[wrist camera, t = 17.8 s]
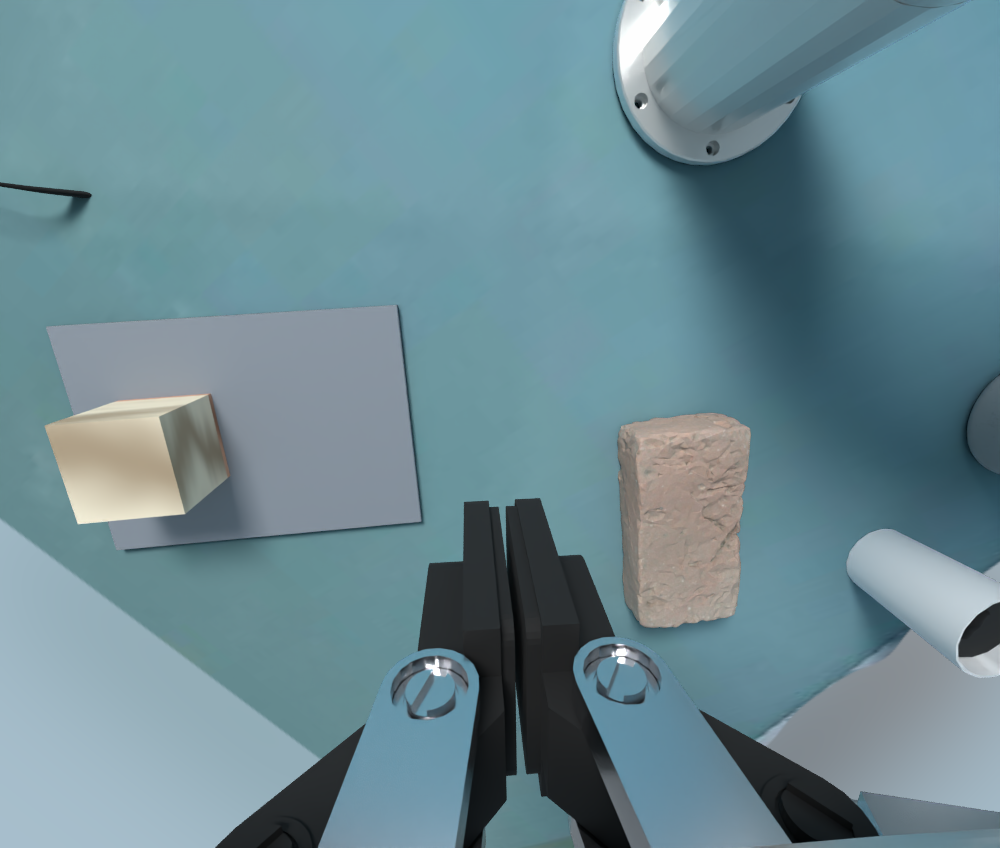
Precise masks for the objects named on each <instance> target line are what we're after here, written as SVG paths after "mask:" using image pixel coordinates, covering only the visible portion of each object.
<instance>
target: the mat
mask: <svg viewBox="0 0 1000 848" xmlns="http://www.w3.org/2000/svg"><path fill="white" fill-rule="evenodd" d="M46 328H47V332H48V335H49V338H50V341H51V344H52V347H53V351H54V354H55V357H56V360H57V363H58V366H59V370H60V373H61V376H62V379H63V382H64V385H65V389H66V392H67V395H68V398H69V401H70V404H71V407H72V411H73V414H74V415H77V414H80V413H83V412H86V411H89V410H92V409H95V408H98V407H101V406H104V405H106V404H109V403H112V402H115V401H120V400H133V399H146V398H159V397H172V396H185V395H198V394H211V396H212V400H213V405H214V409H215V413H216V417H217V422H218V426H219V430H220V434H221V439H222V443H223V447H224V451H225V456H226V460H227V464H228V468H229V473H230V476H229V477H228V478H227V479H226V480H225V481H224V482H222V483H221V484H220V485H219V486H218V487H216V488H215V489H214V490H213V491H212V492H211V493H209V494H208V495H207V496H206V497H205V498H203V499H202V500H201V501H200V502H199V503H198V504H196V505H195V506H194V507H193V508H192V509H191V510H189V511H188V512H187V513H186V514H181V515H170V516H159V517H149V518H138V519H127V520H116V521H108V524H109V528H110V531H111V534H112V537H113V540H114V543H115V547H116V550H124V549H135V548H145V547H156V546H167V545H177V544H188V543H199V542H209V541H220V540H231V539H241V538H252V537H263V536H273V535H284V534H295V533H305V532H316V531H327V530H337V529H348V528H359V527H369V526H380V525H391V524H401V523H412V522H421V519H422V517H421V508H420V499H419V490H418V482H417V473H416V464H415V455H414V446H413V437H412V428H411V420H410V411H409V402H408V393H407V384H406V375H405V367H404V358H403V349H402V340H401V331H400V322H399V314H398V305H389V306H373V307H356V308H340V309H324V310H307V311H291V312H275V313H259V314H242V315H226V316H210V317H193V318H177V319H161V320H144V321H128V322H112V323H95V324H79V325H63V326H49V327H46Z"/></svg>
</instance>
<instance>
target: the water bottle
mask: <svg viewBox="0 0 1000 848" xmlns="http://www.w3.org/2000/svg"><path fill="white" fill-rule="evenodd" d="M967 439H968V445H969V448H970V450H971V453H972V454H973V455H974V457H975V458H976V460H977V461H978V462H979V463H980V464H981V465H983V466H984V467H985V468H987V469H988V470H990V471H992V472H995V473H997V474H1000V375H999V376H997V377H996V378H995V379H994V380H993V381H991V383H990V384H989V385H988V386H987V387H986V388H985V389H984V390H983V392H982V393H981V395H980V396H979V398H978V399H977V401H976V402H975V405H974V407H973V409H972V411H971V414H970V417H969V421H968V427H967Z"/></svg>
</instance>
